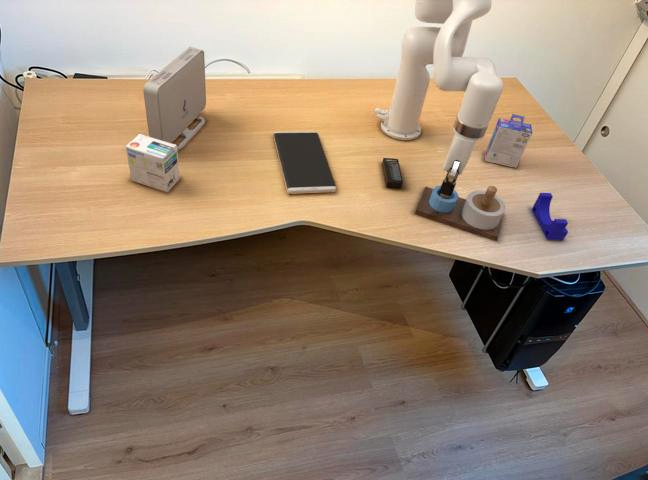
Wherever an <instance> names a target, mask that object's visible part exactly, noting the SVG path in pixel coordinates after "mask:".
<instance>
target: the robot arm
mask: <svg viewBox="0 0 648 480" xmlns="http://www.w3.org/2000/svg"><path fill="white" fill-rule="evenodd" d="M414 3H415V4H414V15H415V18H416V20H418V21H419V22H421V23H425V24H439V25H442V26H441V27H440V26H439V27H438V26H415V27H412V28H409V29H408V30H406V31H405V33H404V34H403V37H402V41H401V51H400V61H399V68H398V72H397V76H396V80H395V84H394V89H393V93H392V97H391V102H390V104H389V105H390V106H389V109H382V108H379V107H375V110H374V112H373V114H374V115H376V116H375V118H376V119H379V120H381V122H380V129H381V130H382V132H383V133H384V134H385V135H387V136H388V137H390V138H392V139H396V140H399V141H411V140H412V141H413V140H414V139H417V138H418V137H419V136H420V135H421V133H422V132H421V131H422V128H421V125H420V124H419V120H420V118H421V114H422V110H423V107H424V104H425V100H426V96H427V93H428V90H429V86H430V83H431V76H430V72H429V70H428V69H427V66H428V65H432V68H433V69H432V71H433V72H432V73H433V80H434V84H435V86H436V88H438V89H439V90H440V91H442V92H464V95H463V97H462V100H461V104H460V105H459V109H458V112H457V115H456V117H455V120H454V123H453V125H452V131H453V132H454V135H453V137H452V141H451V142H450V146H449V148H448V152H447V154H446V157H445V160H444V163H443V166H442V171H445V172H446V175H445V177H444V179H443V180H442V182H441V185H440V186H441V188H440V191H439V193H441V194H444V195H447V196H452V193H453V190H455V188H456V185H457V181H458V180H457V179H458V178H459V176H461V175H462V174H463V172H464V170H465V168H466V166H467V164H468V162H469V160H470V157H471V155H472V153H473V150H474V147H475V145H476V144H477V141H480V140H482V139H484V137H485V135H486V132H487V129H488V127H489V125H490V122H491V120H492V117H493V115H494V112H495V110H496V107H497V105H498V103H499V100H500V98H501V95H502V93H503V90H504V81H503V80H502V78H501V77H500V76H498V74H497V68H496V66H495V63H494V61H493V60H492V59H490V58H488V57H473V56H463V55H464V52H465V49H466V47H467V43H468V39H469V34H470V31H471V27H472V24H473V21H474V20H477V19H479V18H482V17H484V16H485V15H487V14H488V13H489V12H490V11H491V9H492V0H415V2H414ZM449 173H450V176H448V175H449ZM455 175H456V176H455ZM454 177H455V178H454Z"/></svg>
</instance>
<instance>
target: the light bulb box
mask: <svg viewBox="0 0 648 480" xmlns="http://www.w3.org/2000/svg"><path fill="white" fill-rule="evenodd" d="M177 146H178V145H177V144H175V143H173V142H172V143H169V142H165V141H161V140H158V139H155V138H152V137H149V135H145V134H142V133H138V135H136V136H135V138H133V139H132V140H131V141H130V142H129V143H127V144H126V145H125V151H126V156H127V163H128V167H129V168H128V169H129V174H130V180H131V181H132V182H134V183H138V184H141V185H144V186H147V187H150V188H153V189H156V190H158V191H162V192H165V193H169V191H170V190H171V189H172V188H173V187H174V186H175V185H176V184H177V183H178V182H179V181H180V179H181V177H180V165H179V164H180V163H179V155H178V150H177Z"/></svg>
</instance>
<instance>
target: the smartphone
mask: <svg viewBox="0 0 648 480" xmlns="http://www.w3.org/2000/svg"><path fill="white" fill-rule="evenodd" d="M273 140H274V143H275V148H276V151H277V156H278V159H279V164H280V169H281V171H282V177H283V180H284V183H285V188H286V192H287V193H288V194H290V195H292V194H296V195H297V194H318V193H319V194H320V193H335V192H336V191H337V185H336V183H335V180H334V177H333V173H332V170H331V168H330V165H329V162H328V159H327V156H326V154H325V150H324V147H323V144H322V141H321V139H320V135H319V133H318V132H317V131H275V132H273Z"/></svg>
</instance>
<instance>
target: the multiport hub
mask: <svg viewBox="0 0 648 480" xmlns="http://www.w3.org/2000/svg"><path fill="white" fill-rule="evenodd" d="M381 169H382V174H383V180H384V184H385V188H386V189H391V190H393V189H394V190H403V189H402V188H403V185H404V179H403V178H404V177H403V174H402V170H401V166H400V162H399V159H398V158H393V157H392V158H391V157H383V158H382V161H381Z"/></svg>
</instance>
